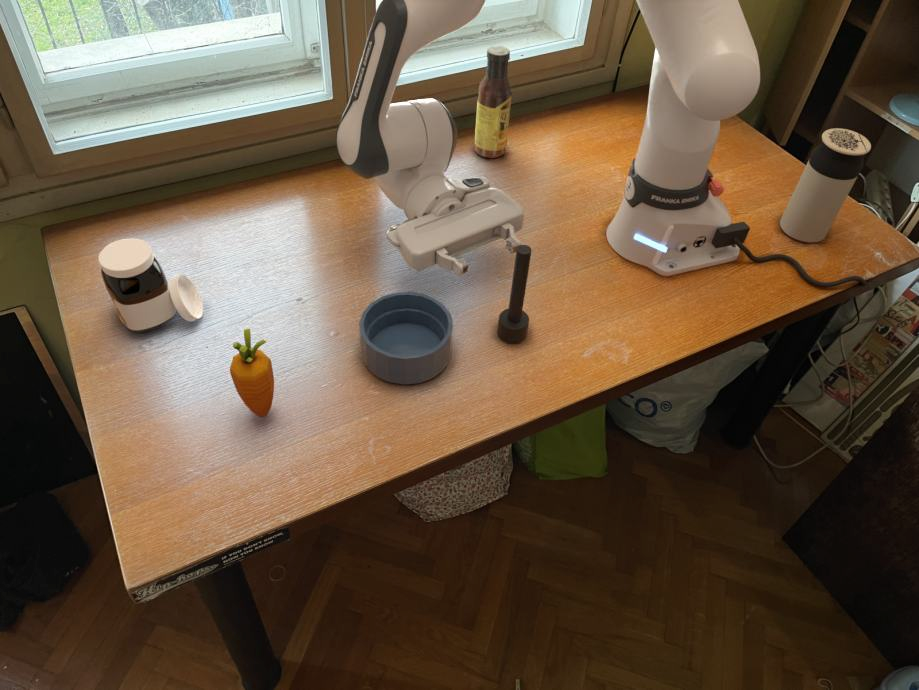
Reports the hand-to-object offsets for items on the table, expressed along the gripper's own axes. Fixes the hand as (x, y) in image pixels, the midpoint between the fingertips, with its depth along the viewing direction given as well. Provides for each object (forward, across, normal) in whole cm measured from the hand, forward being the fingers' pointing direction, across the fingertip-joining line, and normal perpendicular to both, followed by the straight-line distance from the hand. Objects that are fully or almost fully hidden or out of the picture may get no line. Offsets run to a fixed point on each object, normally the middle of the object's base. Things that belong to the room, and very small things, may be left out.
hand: (491, 259), depth 104 cm
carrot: (+2, -37, +10) cm, 39 cm away
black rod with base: (+7, 0, +10) cm, 12 cm away
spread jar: (-24, -42, +10) cm, 49 cm away
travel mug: (+13, +60, +10) cm, 62 cm away
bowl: (+2, -15, +9) cm, 18 cm away
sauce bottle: (-35, +26, +10) cm, 45 cm away
